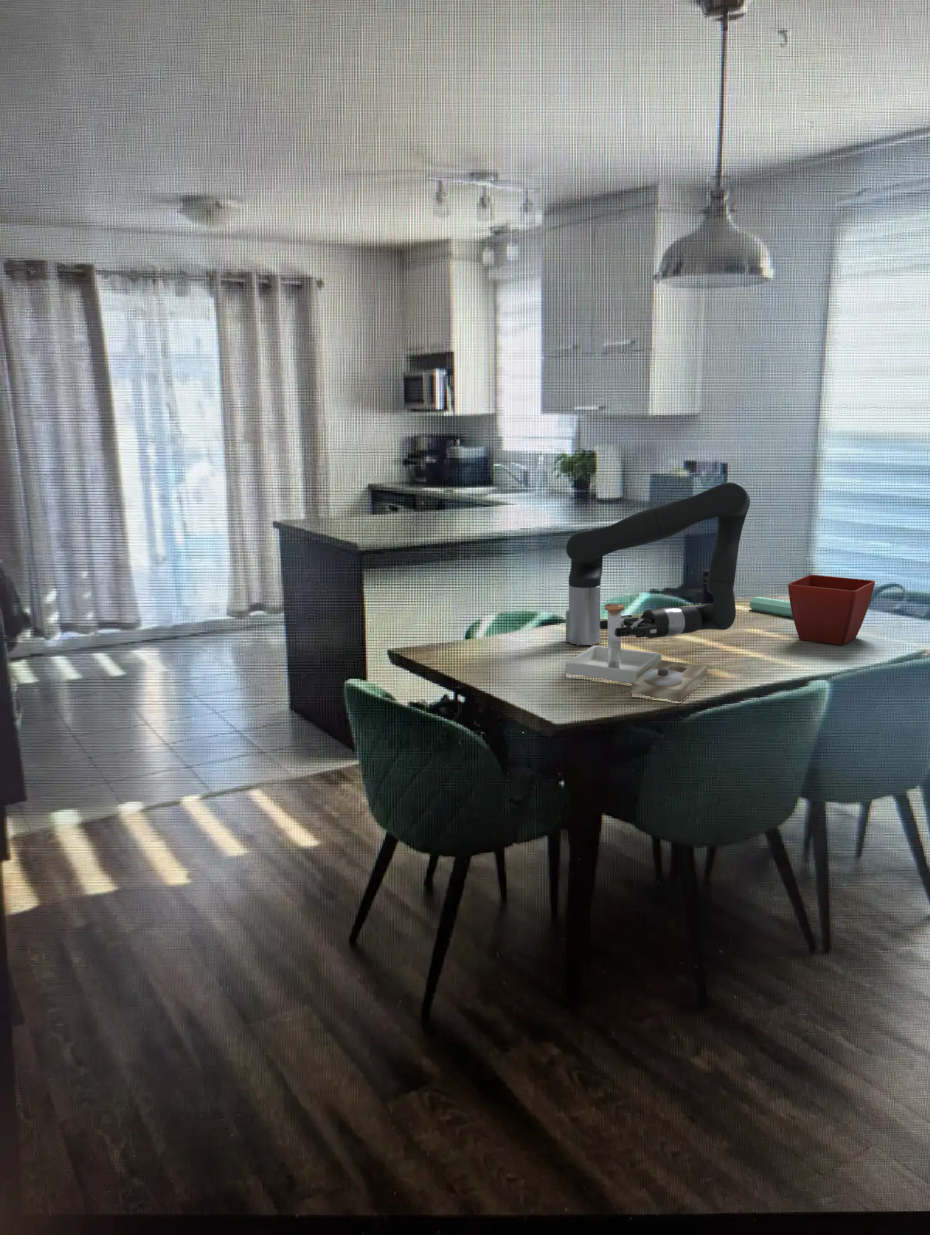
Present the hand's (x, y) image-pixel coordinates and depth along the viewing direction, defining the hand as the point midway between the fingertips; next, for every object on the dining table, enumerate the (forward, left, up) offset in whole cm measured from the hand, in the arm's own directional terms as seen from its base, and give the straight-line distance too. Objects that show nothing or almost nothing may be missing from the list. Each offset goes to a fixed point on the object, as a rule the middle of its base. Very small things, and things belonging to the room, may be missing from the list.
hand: (608, 628), depth 235 cm
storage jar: (+7, +77, -12) cm, 79 cm away
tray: (+1, +1, -12) cm, 12 cm away
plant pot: (+44, +61, -12) cm, 77 cm away
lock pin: (+1, +2, -11) cm, 11 cm away
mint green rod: (+27, +86, -12) cm, 91 cm away
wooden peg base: (+18, -5, -12) cm, 22 cm away
